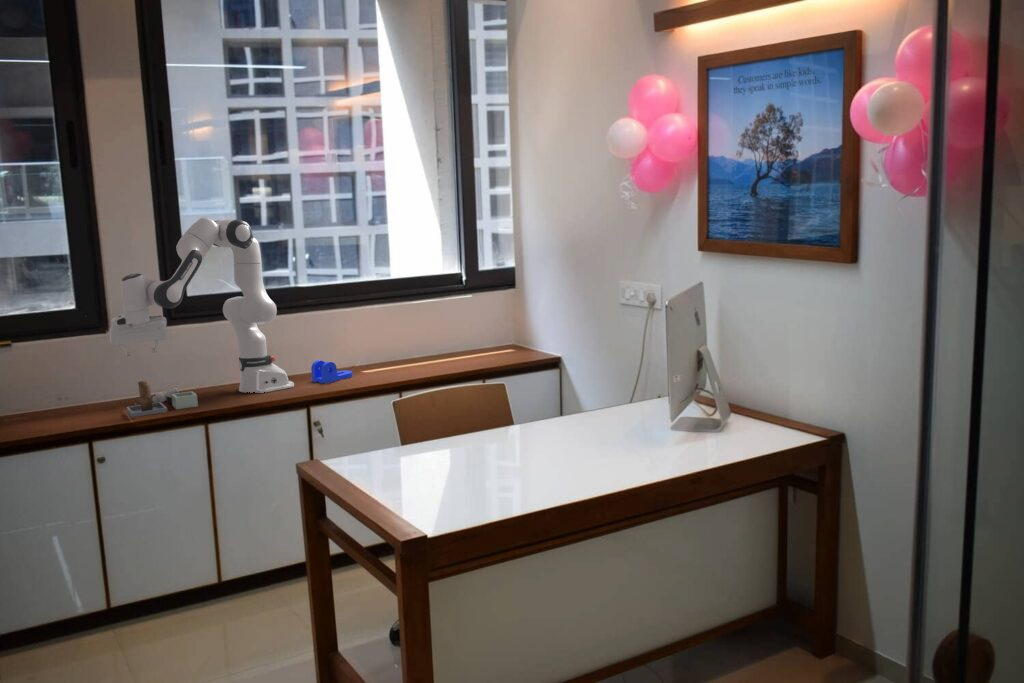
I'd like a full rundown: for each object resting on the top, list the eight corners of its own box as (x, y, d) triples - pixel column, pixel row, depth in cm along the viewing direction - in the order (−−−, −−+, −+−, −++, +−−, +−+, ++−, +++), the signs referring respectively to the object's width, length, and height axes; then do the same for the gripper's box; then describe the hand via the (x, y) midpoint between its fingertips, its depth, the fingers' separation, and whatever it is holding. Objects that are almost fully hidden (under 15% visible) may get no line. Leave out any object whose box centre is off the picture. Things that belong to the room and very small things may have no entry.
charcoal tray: (161, 408, 361) (160, 402, 361) (167, 414, 350) (167, 408, 350) (127, 413, 355) (126, 407, 354) (132, 419, 344) (131, 413, 344)
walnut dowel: (151, 409, 355) (148, 380, 353) (153, 411, 352) (150, 381, 350) (140, 411, 353) (137, 381, 351) (142, 413, 350) (139, 383, 348)
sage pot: (193, 404, 365) (192, 391, 364) (198, 408, 358) (196, 394, 357) (172, 407, 361) (171, 394, 360) (176, 411, 354) (175, 397, 353)
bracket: (325, 384, 395) (323, 363, 393) (312, 382, 400) (310, 361, 398) (356, 376, 409) (355, 356, 407) (343, 374, 414) (342, 354, 412)
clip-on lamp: (147, 419, 357) (190, 401, 368) (142, 405, 354) (186, 386, 365) (135, 412, 365) (177, 394, 376) (130, 397, 363) (173, 380, 373)
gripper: (164, 313, 354) (168, 349, 357) (106, 319, 344) (111, 356, 347) (167, 315, 349) (171, 351, 351) (108, 321, 339) (113, 358, 341)
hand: (141, 354), depth 349 cm, fingers open, 8 cm apart
